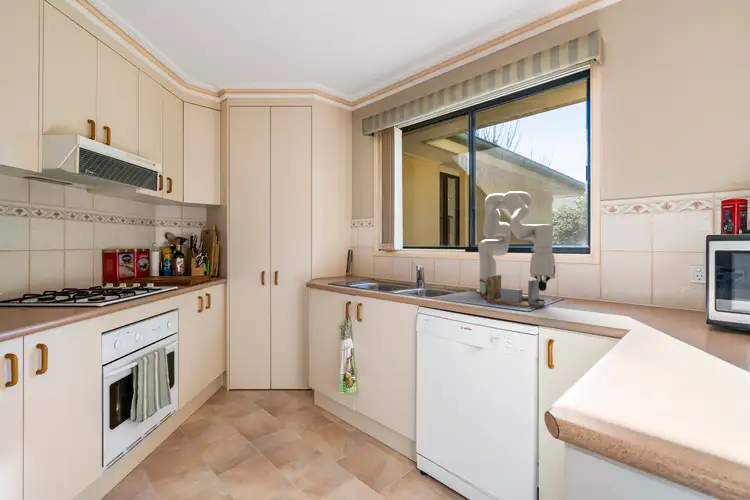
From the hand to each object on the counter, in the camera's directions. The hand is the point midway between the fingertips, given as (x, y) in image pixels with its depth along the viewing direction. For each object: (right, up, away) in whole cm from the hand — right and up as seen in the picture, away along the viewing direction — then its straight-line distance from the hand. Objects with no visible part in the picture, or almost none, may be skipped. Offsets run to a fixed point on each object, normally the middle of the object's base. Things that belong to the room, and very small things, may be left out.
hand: (542, 290), depth 162 cm
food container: (-16, -7, +27) cm, 33 cm away
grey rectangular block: (-10, -6, +11) cm, 16 cm away
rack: (-9, -8, +9) cm, 15 cm away
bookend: (-2, -6, +2) cm, 7 cm away
